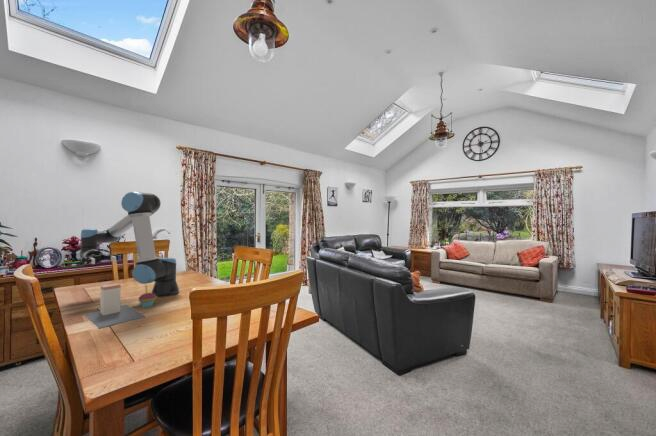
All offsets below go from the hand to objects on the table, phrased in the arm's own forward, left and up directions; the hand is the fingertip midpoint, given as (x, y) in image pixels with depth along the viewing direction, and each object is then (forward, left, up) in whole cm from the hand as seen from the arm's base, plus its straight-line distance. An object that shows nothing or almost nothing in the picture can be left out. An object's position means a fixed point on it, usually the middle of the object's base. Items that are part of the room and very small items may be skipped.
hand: (104, 260), depth 144 cm
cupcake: (-20, +3, -26) cm, 33 cm away
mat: (-8, +14, -26) cm, 31 cm away
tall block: (-5, +9, -26) cm, 28 cm away
